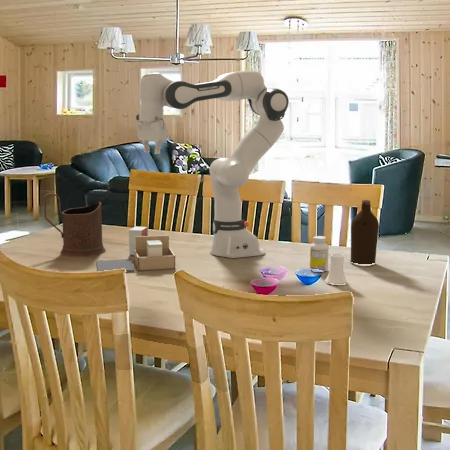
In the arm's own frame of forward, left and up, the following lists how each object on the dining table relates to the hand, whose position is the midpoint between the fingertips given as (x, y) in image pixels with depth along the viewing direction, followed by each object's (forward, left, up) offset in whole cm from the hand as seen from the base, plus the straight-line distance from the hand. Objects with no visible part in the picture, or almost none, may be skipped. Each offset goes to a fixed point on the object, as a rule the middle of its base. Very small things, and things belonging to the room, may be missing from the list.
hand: (152, 153), depth 235 cm
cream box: (+1, +10, -42) cm, 43 cm away
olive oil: (-79, +24, -42) cm, 93 cm away
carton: (+1, +10, -42) cm, 43 cm away
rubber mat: (+16, +10, -42) cm, 46 cm away
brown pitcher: (+30, -17, -42) cm, 54 cm away
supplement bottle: (-58, +30, -42) cm, 78 cm away
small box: (+5, -10, -42) cm, 44 cm away
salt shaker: (-58, +46, -42) cm, 85 cm away
